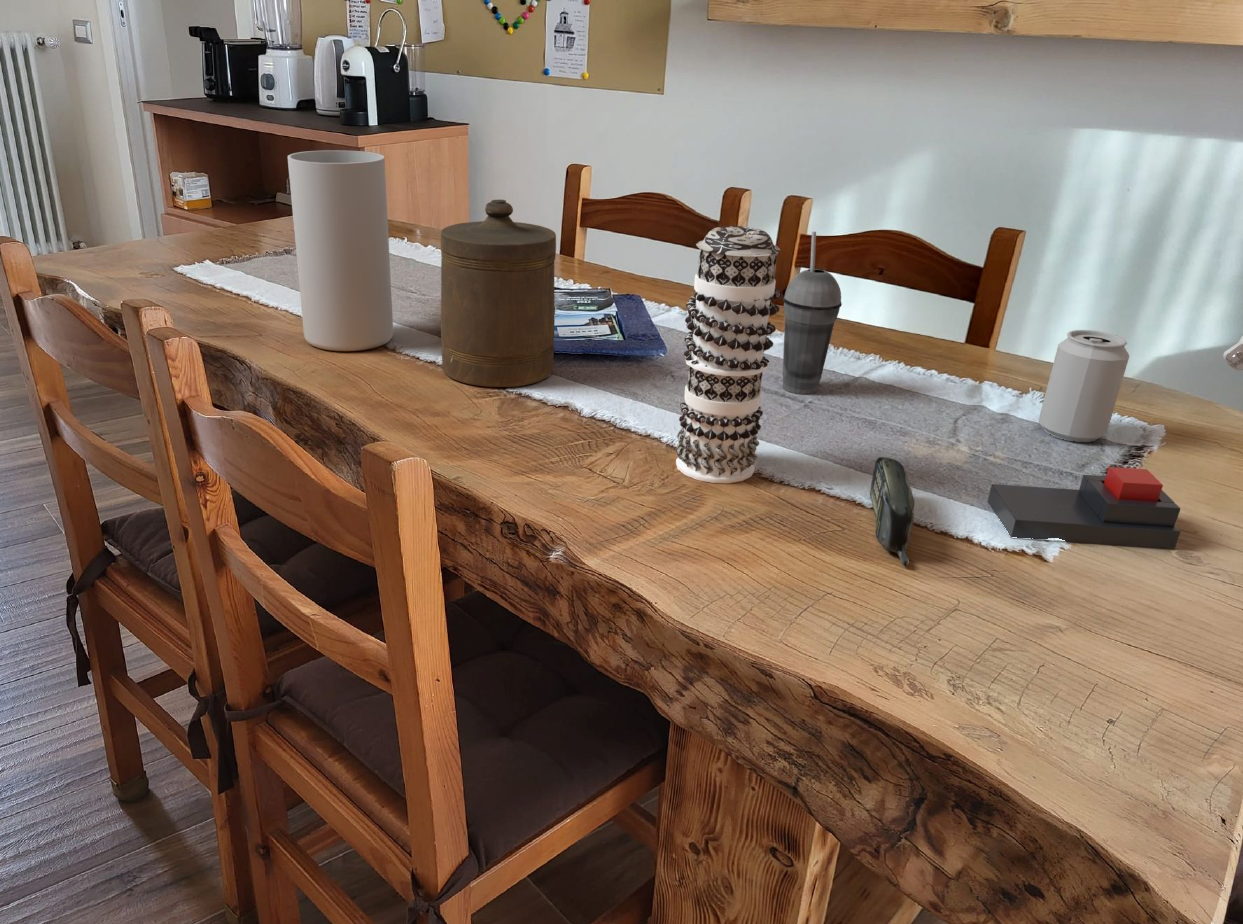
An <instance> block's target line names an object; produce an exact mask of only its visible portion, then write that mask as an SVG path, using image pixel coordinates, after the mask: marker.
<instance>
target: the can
mask: <svg viewBox="0 0 1243 924" xmlns="http://www.w3.org/2000/svg"><path fill="white" fill-rule="evenodd" d="M1066 336H1067V338H1065V339H1064V340H1062V341H1061V342H1059V344H1057V348H1056V352H1055V356H1054V359H1053V364H1052V367H1051V371H1050V375H1049V379H1048V382H1047V385H1046V390H1045V395H1044V398H1043V402H1042V406H1041V409H1040V412H1039V417H1038V423H1039V424H1040V426H1041V427H1042V428H1043V430H1044V431H1045V432H1046V434H1048V435H1050V434H1051V435H1050V436H1052V437H1054V438H1057V439H1060V440H1063V439H1064V440H1063V441H1068V442H1073V441H1075V442H1074V443H1092V442H1095V441H1097V439H1100V438H1102V437H1104V436H1105V435H1107V433H1108V431H1109V426H1110V423H1111V419H1112V417H1113V414H1114V410H1115V406H1116V403H1117V399H1118V396H1119V393H1120V389H1121V386H1122V383H1123V379H1124V376H1125V373H1126V369H1127V366H1128V363H1129V360H1130V354H1129V352H1128V351H1127V349H1126V348H1125V346H1127V344H1128V342H1127V340H1126V339H1125V338H1124V337H1121V336H1118V335H1117V334H1113V333H1109V332H1105V331H1100V330H1093V329H1074V330H1070V331H1068V332H1067V333H1066ZM1091 441H1092V442H1091Z"/></svg>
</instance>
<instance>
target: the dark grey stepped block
mask: <svg viewBox="0 0 1243 924" xmlns="http://www.w3.org/2000/svg"><path fill="white" fill-rule="evenodd" d="M1105 478H1106V475H1095V474H1083V476H1082V478H1081V481H1080V486H1079V488H1078V489H1073V488H1059V487H1057V488H1056V487H1044V486H1028V485H1014V484H1013V485H1012V484H1001V483H999V484H998V483H991V485H990V489H989V494H988V497H987V503H988V505H989V506H990V508H991V509H992V511H993V512H994V514H995V516H996V517H997V516H998V517H997V519H998V520H999V519H1000V520H999V522H1000V521H1001V522H1002V523H1001V522H1000V523H1001V525H1002V524H1003V525H1004V526H1003V525H1002V526H1003V528H1004V527H1005V528H1006V530H1007V531H1008V533H1009V534H1008V533H1007V534H1008V536H1009V535H1010V536H1011V537H1017V538H1031V539H1032V538H1033V539H1048V538H1059V539H1062V540H1065V541H1066V542H1065V543H1073V544H1086V545H1090V544H1091V545H1102V546H1115V547H1127V548H1129V547H1130V548H1144V549H1157V550H1171V551H1172V550H1173V551H1174V550H1175V549H1176V547H1177V544H1178V541H1179V538H1180V534H1181V530H1180V529H1179V528H1178V527H1177V526H1176V523H1177V520H1178V518H1179V514H1180V511H1181V507H1180V506H1179V505H1178V504H1177V503H1176V502H1175V501H1174V500H1173V499H1172V498H1171V497H1170V496H1169V495H1168V494H1167V493H1166V492H1165V491H1163V489H1162V490H1161V493H1160V496H1159V499H1158V502H1151V501H1137V500H1122V499H1116V497H1115V496H1114V495H1113V494H1112V493H1111V492H1110V491H1109V490H1108V489H1107V487H1106V486H1105V485H1104V481H1105ZM1005 528H1004V529H1005ZM1006 530H1005V531H1006ZM1007 531H1006V532H1007ZM1010 536H1009V537H1010ZM1011 537H1010V538H1011Z"/></svg>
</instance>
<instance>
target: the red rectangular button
mask: <svg viewBox="0 0 1243 924" xmlns="http://www.w3.org/2000/svg"><path fill="white" fill-rule="evenodd" d="M1105 476H1106V478H1105V481H1104V485H1105V486H1106V487H1107V489H1108V490H1109V491H1110V492H1111V493H1112V494H1113V495H1114V496H1115V497H1116V499H1122V500H1137V501H1151V502H1158V499H1159V496H1160V493H1161V490H1163V487H1164V484H1162V482H1161V481H1159V480H1158V478H1157V477H1156V476H1154V475H1153V474H1152V473H1151V472H1150V471H1149V470H1148V469H1147V468H1134V467H1132V468H1131V467H1118V466H1117V467H1116V466H1108V469H1107V471H1106V475H1105Z"/></svg>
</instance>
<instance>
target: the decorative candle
mask: <svg viewBox="0 0 1243 924" xmlns="http://www.w3.org/2000/svg"><path fill="white" fill-rule="evenodd" d="M695 246H696V247H697V248H698V249H699V255H698V260H697V265H698V266H697V268H698V270H697V273H695V274H694V281H693V282H694V284H693V289H694V291H695V293H694V294H693V295H691V296H690V297H689V299H688V301H687V302H686V304H685V308H687V314H688V315H687V316H685V318H684V322H685V323H686V324H685V325H686V329H687V330H689V331H687V335H686V336H685V337H684V342H685V344H686V345H685V346H686V347H685V348H686V349H685V350H684V352H683V356H684V360H685V363H686V365H687V366H689V368H688V371H687V383H686V385H685V386H684V396H683V399H684V400H683V401H681V403H680V404H679V407H680V411H681V413H682V415H680V416H679V418H678V421H679V425H680V427H681V429H679V430H678V432H677V435H676V438H677V441H678V444H677V445H676V448H675V450H676V455H677V458H676V460H675V465H676V468H677V470H678V471H679V472H681V473H682V474H683V475H684V476H686V477H689V478H691V479H694V480H696V481H700V482H706V483H711V484H733V483H739V482H743V481H745V480H747V479H749V478H752V476H753V474H754V473H755V469H756V467H755V465H754V464H755V462H756V461H755V460H757V459H758V455H757V454H756V452H757V447H759V445H760V441H759V440H758V436H757V435H758V434H759V431H761V428H762V425H761V424H760V419H761V417H762V416H763V414H764V411H763V410H762V408H761V401H762V390H761V387H762V379H763V373H764V372H766V370H767V369H768V367H769V364H770V360H769V359H768V358H766V356H765V355H764V353H765V352H766V351H768V350H770V349H772V347H773V346H774V342H773V340H771V339H770V338H769V336H770V335H772V334H773V333H774V332H776V326H775V325H774V324H772V323H771V320H770V321H768V320H769V317H771V316H774V315H777V314H778V313H779V312H780V306H778V305H777V304H776V302H774V301H775V300H777V299H779V298H780V297H782V294H783V293H782V291H780V290H778V288H776V284H777V281H776V279H775V278H776V277H775V275H776V268H777V261H778V254H779V252H780V251H781V249H780V248H779V246H777V245H775V244H774V241H773V239H772V238H771V236H770V234H768V233H767V232H766V231H765V230H762V229H759V228H756V227H751V226H742V225H724V226H723V225H722V226H718V227H714V228H712V229H711V230H709V232H708V233H707V234H706V235H705V237H704V239H703V240H700V241H698V242H697V243H695Z"/></svg>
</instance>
